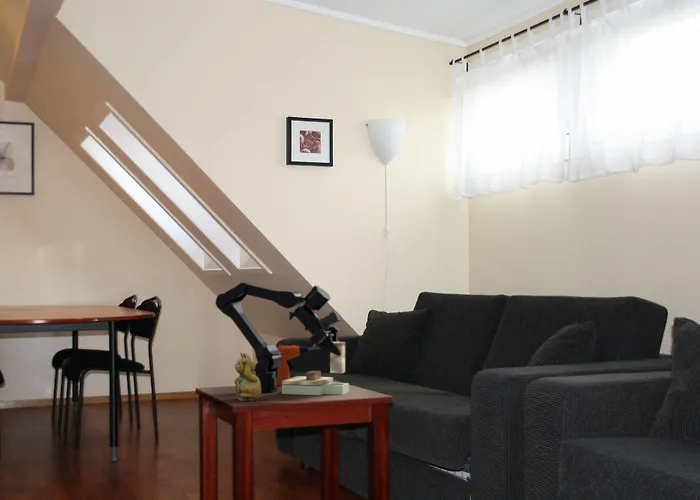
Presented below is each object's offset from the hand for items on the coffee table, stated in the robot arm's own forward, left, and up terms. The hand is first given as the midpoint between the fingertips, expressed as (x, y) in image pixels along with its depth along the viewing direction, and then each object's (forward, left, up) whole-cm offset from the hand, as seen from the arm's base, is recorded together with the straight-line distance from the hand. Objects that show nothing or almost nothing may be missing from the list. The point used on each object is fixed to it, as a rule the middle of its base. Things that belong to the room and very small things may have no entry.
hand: (341, 354), depth 283 cm
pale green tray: (-8, -2, -13) cm, 16 cm away
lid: (-11, -2, -9) cm, 15 cm away
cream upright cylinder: (-1, 0, -6) cm, 6 cm away
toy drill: (-24, +21, -14) cm, 34 cm away
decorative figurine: (-26, -18, -14) cm, 34 cm away
